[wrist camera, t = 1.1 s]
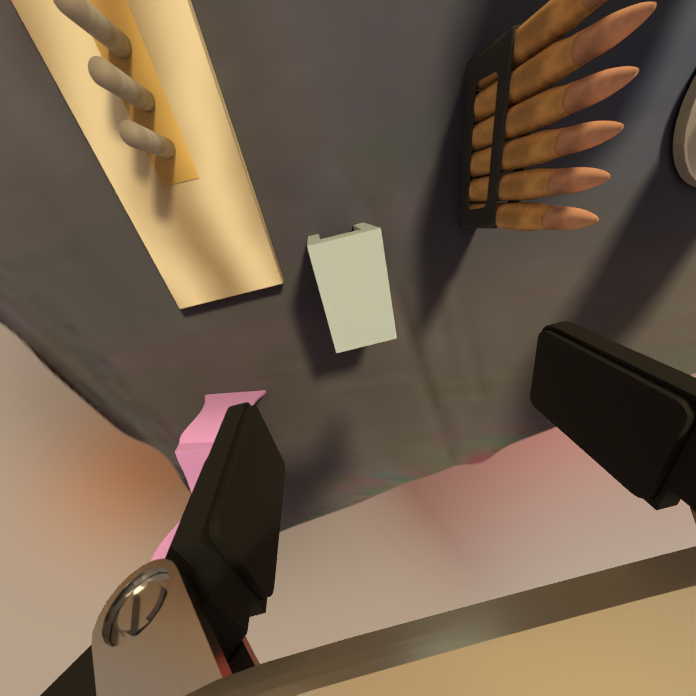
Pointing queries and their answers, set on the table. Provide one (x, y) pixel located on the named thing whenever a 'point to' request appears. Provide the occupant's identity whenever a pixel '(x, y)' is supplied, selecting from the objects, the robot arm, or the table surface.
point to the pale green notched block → (354, 286)
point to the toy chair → (203, 443)
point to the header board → (160, 137)
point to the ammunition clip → (538, 116)
